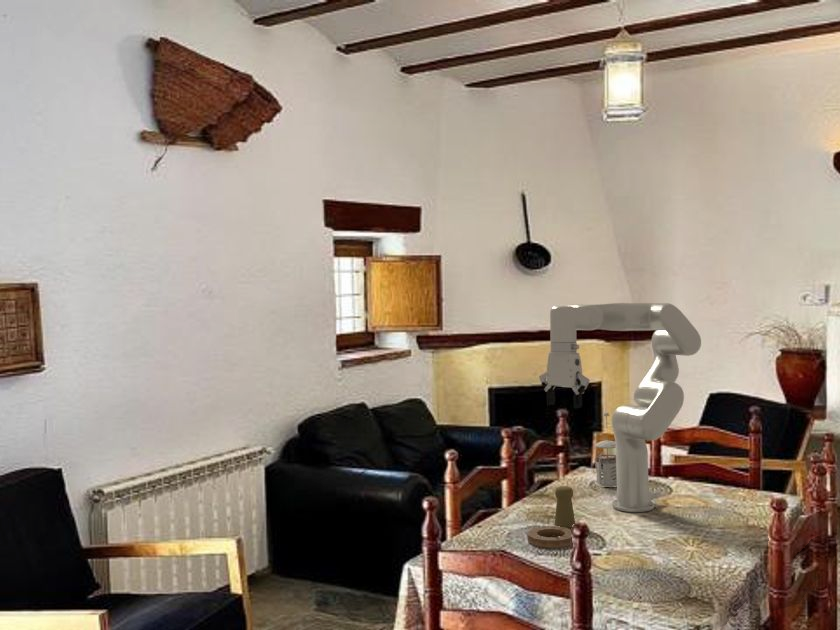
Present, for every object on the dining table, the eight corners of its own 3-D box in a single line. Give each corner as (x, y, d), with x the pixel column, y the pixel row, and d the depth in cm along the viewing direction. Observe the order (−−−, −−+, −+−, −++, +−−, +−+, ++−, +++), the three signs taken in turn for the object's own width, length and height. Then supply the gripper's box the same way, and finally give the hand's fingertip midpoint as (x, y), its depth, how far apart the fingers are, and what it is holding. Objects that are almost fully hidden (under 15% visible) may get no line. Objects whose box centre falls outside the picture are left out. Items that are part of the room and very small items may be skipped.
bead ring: (556, 530, 233) (556, 523, 233) (584, 542, 222) (583, 535, 222) (519, 538, 228) (518, 531, 228) (545, 550, 216) (545, 543, 216)
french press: (628, 483, 283) (626, 411, 282) (610, 490, 275) (608, 416, 274) (603, 479, 290) (601, 409, 289) (585, 486, 281) (583, 414, 280)
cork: (575, 527, 235) (574, 489, 235) (554, 527, 237) (552, 489, 236) (575, 521, 241) (574, 484, 241) (554, 521, 243) (553, 484, 242)
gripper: (595, 348, 237) (596, 407, 237) (547, 346, 250) (548, 402, 250) (580, 350, 232) (581, 410, 232) (532, 347, 244) (532, 405, 245)
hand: (564, 406), depth 241 cm, fingers open, 9 cm apart
